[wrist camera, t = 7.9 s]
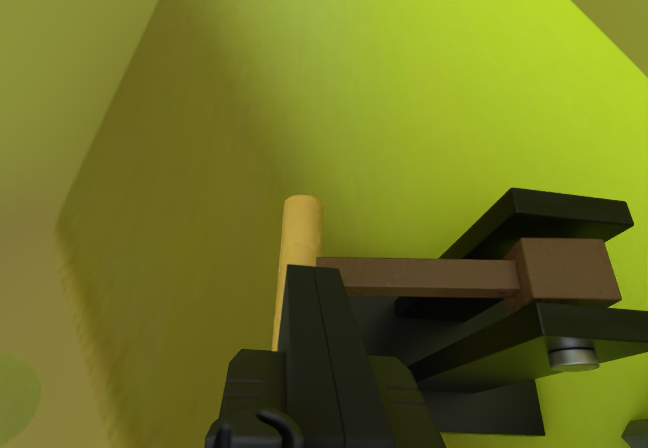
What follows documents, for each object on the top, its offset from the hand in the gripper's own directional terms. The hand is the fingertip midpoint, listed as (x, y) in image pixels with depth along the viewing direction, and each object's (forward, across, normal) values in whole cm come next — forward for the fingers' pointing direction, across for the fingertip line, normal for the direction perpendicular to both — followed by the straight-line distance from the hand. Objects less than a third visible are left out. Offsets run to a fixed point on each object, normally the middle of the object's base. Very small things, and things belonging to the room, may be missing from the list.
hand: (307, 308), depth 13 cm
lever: (+3, +5, 0) cm, 6 cm away
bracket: (+10, +9, -7) cm, 15 cm away
